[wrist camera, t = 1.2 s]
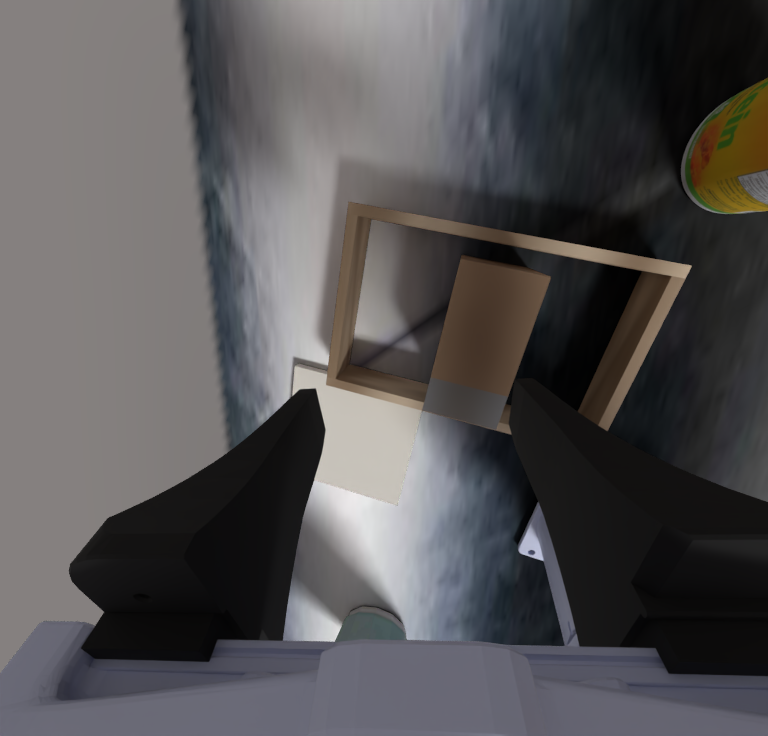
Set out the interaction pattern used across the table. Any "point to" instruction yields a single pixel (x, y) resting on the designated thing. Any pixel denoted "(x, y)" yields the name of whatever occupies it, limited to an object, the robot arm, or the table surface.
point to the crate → (644, 303)
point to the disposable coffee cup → (371, 626)
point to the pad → (361, 438)
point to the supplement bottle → (730, 155)
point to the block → (483, 339)
